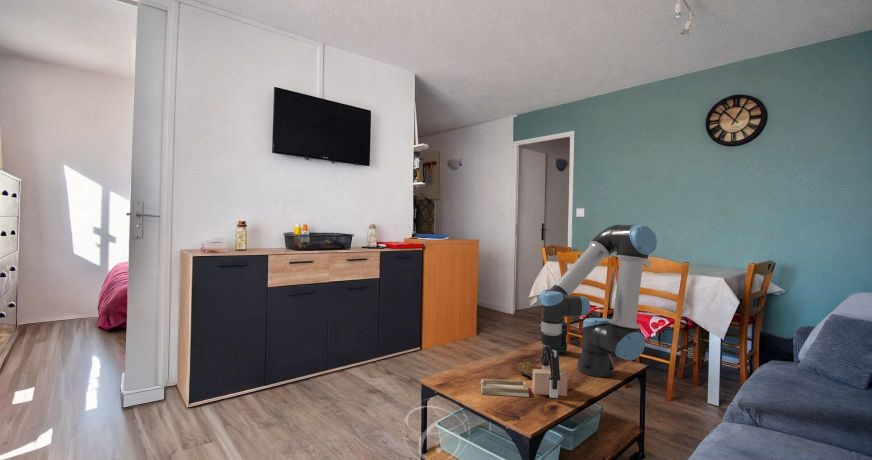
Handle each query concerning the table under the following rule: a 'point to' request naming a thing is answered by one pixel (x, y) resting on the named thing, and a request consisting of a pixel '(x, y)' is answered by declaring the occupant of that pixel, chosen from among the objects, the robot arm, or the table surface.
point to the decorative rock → (527, 368)
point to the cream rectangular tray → (504, 387)
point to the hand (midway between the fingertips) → (549, 389)
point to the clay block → (548, 382)
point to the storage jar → (563, 340)
